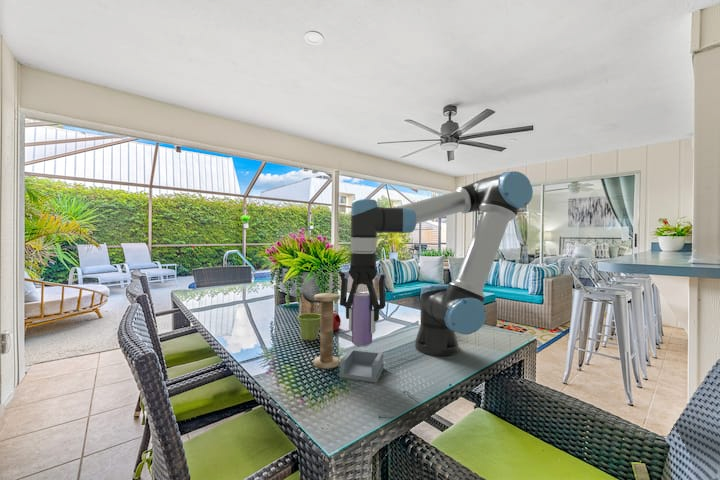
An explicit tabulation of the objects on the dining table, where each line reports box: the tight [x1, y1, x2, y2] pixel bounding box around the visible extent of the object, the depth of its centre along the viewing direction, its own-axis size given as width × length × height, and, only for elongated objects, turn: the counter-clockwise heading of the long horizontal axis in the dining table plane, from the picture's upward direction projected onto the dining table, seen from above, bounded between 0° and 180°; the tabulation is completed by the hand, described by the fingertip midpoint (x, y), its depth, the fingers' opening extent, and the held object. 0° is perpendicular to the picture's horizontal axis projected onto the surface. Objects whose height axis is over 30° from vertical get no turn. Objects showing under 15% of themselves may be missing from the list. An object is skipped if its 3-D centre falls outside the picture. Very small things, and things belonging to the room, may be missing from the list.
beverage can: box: [351, 290, 374, 348], centre depth 91 cm, size 6×6×15 cm
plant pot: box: [297, 313, 321, 341], centre depth 121 cm, size 9×9×9 cm
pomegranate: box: [319, 310, 342, 332], centre depth 133 cm, size 10×10×9 cm
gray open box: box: [338, 348, 385, 383], centre depth 92 cm, size 11×10×5 cm
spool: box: [313, 292, 341, 370], centre depth 98 cm, size 8×8×22 cm
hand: (362, 330), depth 91 cm, fingers closed on beverage can, 6 cm apart
